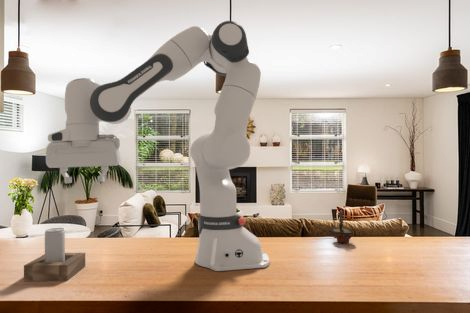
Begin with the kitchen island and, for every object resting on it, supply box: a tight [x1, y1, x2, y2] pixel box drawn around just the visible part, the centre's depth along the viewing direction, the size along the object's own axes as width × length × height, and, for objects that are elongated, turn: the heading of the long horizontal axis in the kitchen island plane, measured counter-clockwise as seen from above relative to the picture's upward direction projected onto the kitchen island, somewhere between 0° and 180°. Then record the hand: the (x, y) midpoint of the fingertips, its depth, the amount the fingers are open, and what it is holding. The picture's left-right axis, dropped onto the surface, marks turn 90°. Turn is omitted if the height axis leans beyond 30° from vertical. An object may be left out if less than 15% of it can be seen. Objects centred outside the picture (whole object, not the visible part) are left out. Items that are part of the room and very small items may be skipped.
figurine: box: [329, 209, 354, 244], centre depth 123 cm, size 10×8×12 cm
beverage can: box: [44, 227, 66, 263], centre depth 91 cm, size 5×5×12 cm
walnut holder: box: [23, 252, 86, 282], centre depth 91 cm, size 11×11×4 cm
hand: (84, 182), depth 97 cm, fingers open, 8 cm apart
